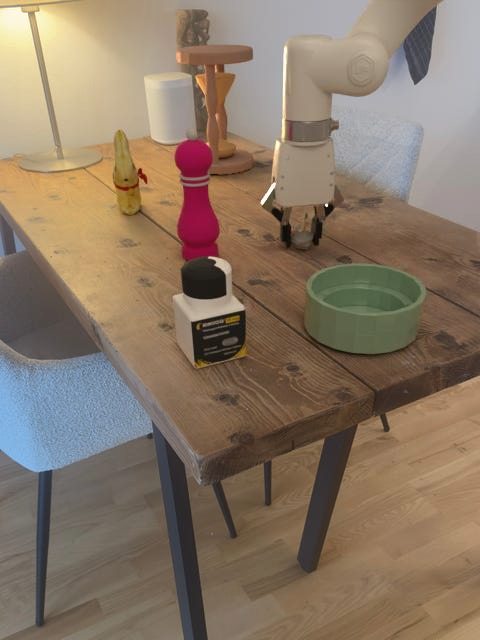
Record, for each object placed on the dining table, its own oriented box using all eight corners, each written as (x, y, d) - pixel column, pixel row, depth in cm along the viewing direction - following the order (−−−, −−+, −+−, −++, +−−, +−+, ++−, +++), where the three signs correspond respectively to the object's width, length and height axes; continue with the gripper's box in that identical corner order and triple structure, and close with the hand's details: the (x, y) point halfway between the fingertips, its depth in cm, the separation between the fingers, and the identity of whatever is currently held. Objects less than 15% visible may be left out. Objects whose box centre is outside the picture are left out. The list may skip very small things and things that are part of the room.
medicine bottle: (195, 370, 70) (187, 280, 63) (176, 344, 75) (167, 257, 68) (247, 357, 72) (245, 268, 65) (225, 332, 77) (222, 247, 70)
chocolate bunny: (118, 218, 114) (105, 137, 105) (117, 202, 123) (105, 125, 113) (152, 216, 115) (142, 135, 106) (149, 199, 124) (139, 123, 114)
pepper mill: (191, 267, 95) (181, 136, 82) (172, 253, 100) (160, 127, 87) (228, 257, 98) (223, 129, 85) (208, 244, 102) (200, 121, 90)
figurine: (312, 253, 98) (314, 218, 95) (287, 252, 99) (288, 217, 95) (313, 241, 102) (315, 208, 99) (288, 241, 103) (290, 207, 99)
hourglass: (201, 155, 152) (194, 44, 137) (262, 159, 148) (262, 44, 132) (173, 172, 140) (162, 52, 124) (239, 178, 135) (237, 53, 119)
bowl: (393, 297, 84) (399, 259, 81) (437, 350, 73) (446, 308, 69) (292, 307, 83) (294, 268, 79) (321, 363, 71) (324, 320, 67)
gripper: (350, 122, 93) (340, 232, 104) (249, 128, 91) (250, 240, 102) (365, 132, 87) (352, 248, 98) (257, 139, 85) (257, 256, 96)
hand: (300, 242), depth 100 cm, fingers closed on figurine, 4 cm apart
